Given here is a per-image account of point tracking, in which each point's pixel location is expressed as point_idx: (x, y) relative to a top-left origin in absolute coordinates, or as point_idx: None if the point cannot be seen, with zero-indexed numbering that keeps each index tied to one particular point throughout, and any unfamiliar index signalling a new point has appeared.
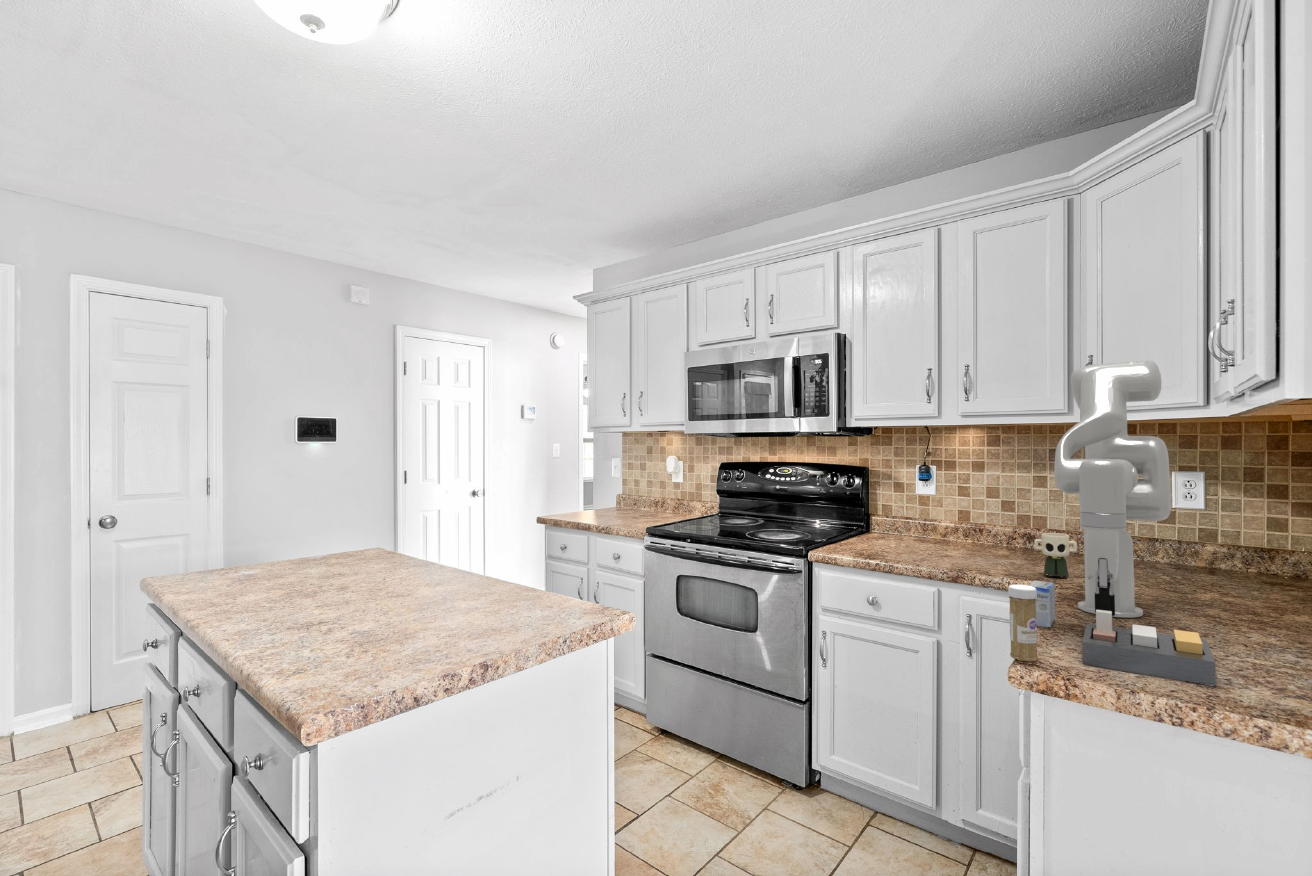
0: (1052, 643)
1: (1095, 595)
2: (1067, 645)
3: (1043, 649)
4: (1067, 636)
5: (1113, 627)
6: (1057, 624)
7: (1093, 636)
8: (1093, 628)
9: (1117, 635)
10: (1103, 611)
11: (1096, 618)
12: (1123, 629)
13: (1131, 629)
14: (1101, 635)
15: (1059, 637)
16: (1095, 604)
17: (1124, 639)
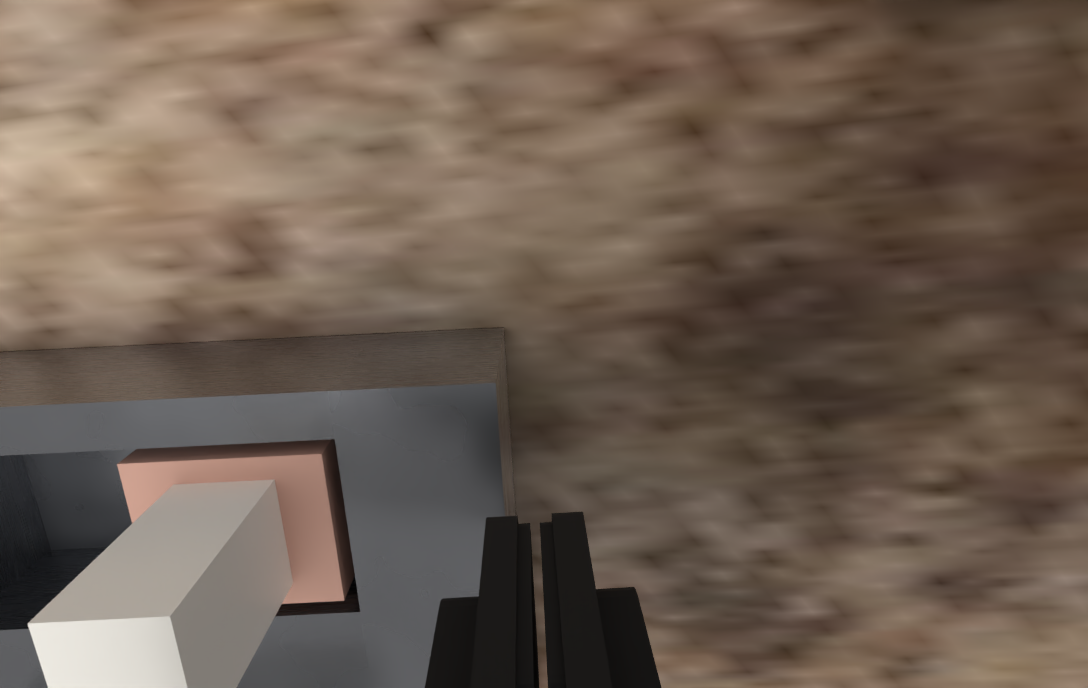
0: (315, 94)
1: (470, 685)
2: (339, 207)
3: (62, 55)
4: (638, 173)
5: None
6: (1050, 39)
7: (135, 453)
8: (337, 447)
9: None
10: (117, 684)
11: (83, 571)
12: None
13: None
14: (134, 518)
15: (561, 119)
16: (483, 583)
17: None
